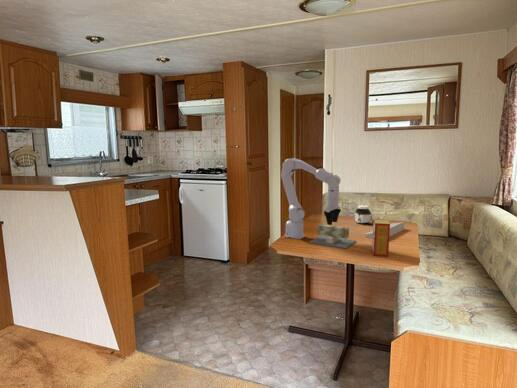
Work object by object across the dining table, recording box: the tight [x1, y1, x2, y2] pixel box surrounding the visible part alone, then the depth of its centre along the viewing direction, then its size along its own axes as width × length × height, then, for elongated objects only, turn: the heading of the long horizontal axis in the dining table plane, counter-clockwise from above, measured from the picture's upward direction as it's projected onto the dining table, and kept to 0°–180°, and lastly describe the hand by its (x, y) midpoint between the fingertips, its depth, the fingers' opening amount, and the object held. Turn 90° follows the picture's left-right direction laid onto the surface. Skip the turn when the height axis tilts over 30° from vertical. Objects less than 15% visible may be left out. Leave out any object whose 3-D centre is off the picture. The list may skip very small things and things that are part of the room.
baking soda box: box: [371, 218, 391, 257], centre depth 176 cm, size 10×6×16 cm
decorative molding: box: [364, 221, 406, 239], centre depth 216 cm, size 34×5×10 cm
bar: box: [317, 223, 350, 239], centre depth 195 cm, size 16×4×5 cm, turn 58°
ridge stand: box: [309, 235, 357, 250], centre depth 195 cm, size 20×16×4 cm
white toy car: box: [354, 204, 376, 226], centre depth 240 cm, size 12×11×12 cm
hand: (332, 223), depth 196 cm, fingers open, 7 cm apart
